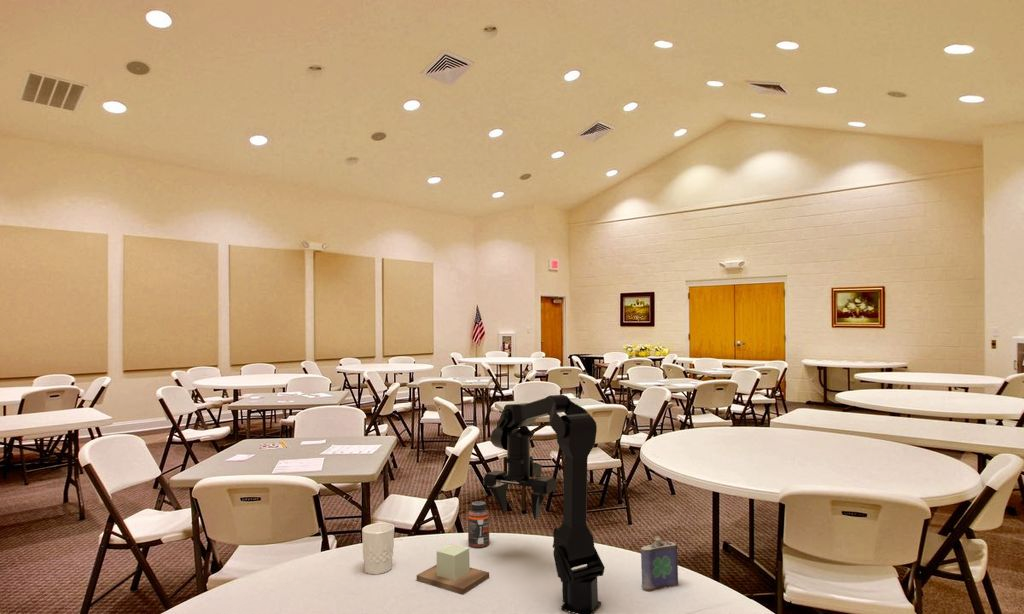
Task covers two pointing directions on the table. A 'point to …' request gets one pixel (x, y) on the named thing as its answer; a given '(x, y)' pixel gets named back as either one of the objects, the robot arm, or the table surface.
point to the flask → (659, 565)
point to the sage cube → (453, 562)
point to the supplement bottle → (478, 525)
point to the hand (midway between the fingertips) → (519, 516)
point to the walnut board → (456, 586)
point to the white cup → (378, 547)
